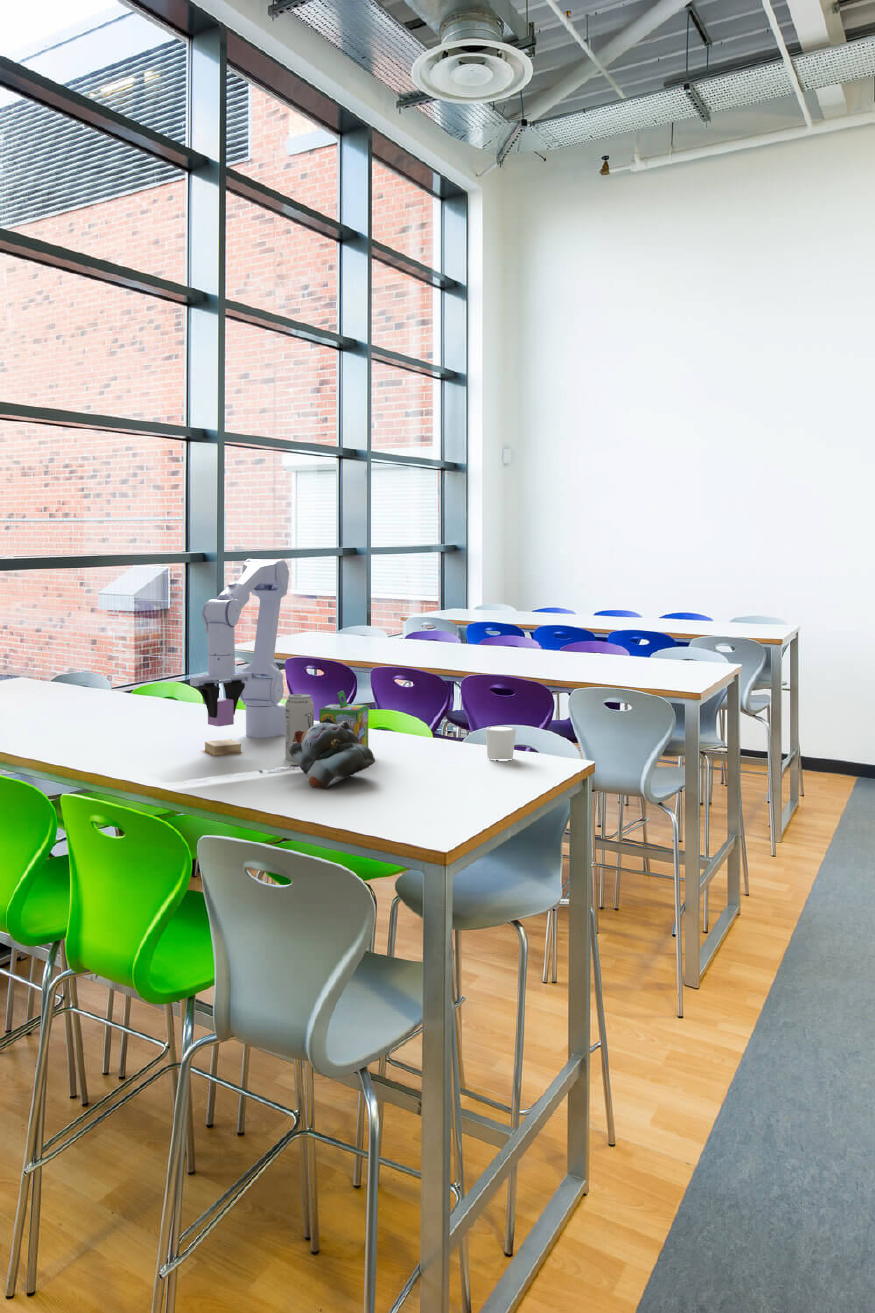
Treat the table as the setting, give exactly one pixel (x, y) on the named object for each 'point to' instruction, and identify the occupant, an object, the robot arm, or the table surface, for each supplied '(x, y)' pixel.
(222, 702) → the purple block
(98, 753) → the table surface
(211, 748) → the oak tile
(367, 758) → the grey stuffed animal
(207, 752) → the walnut tile
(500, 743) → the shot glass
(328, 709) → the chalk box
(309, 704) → the energy drink can
